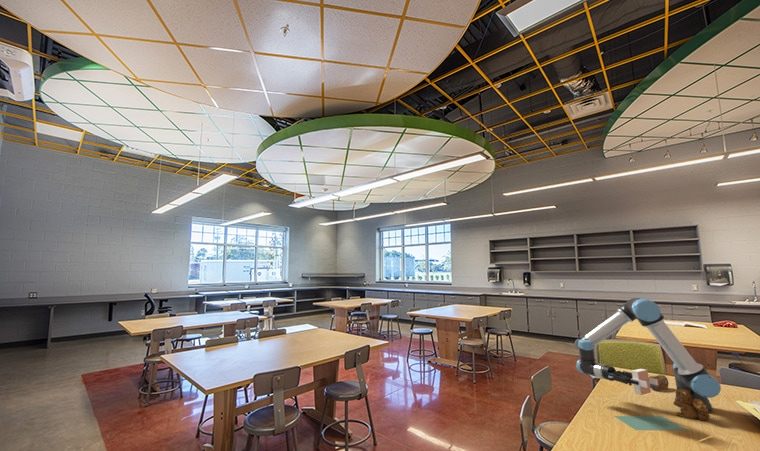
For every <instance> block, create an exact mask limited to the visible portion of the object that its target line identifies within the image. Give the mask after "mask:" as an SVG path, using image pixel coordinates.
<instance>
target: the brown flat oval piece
mask: <svg viewBox="0 0 760 451" xmlns="http://www.w3.org/2000/svg"><path fill="white" fill-rule="evenodd" d="M648 377H649V378H653V379H657V381H658V385H654V384H650V390H653V391H663V390H667V389H668V388H669V380H668V378H667V376H665V375H662V374H655V375H650V376H648ZM662 389H663V390H662Z"/></svg>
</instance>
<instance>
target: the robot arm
mask: <svg viewBox="0 0 760 451" xmlns="http://www.w3.org/2000/svg"><path fill="white" fill-rule="evenodd" d="M661 311H662V310H661V309H660V306H659V305H658V304H657V303H655V302H654V301H652V300H650V299H647V298H639V297H633V298H631V299H629V300H628V301H626V302H625V303H623V305H621V306H619V307H618V308H617V311H616V312H615V313H613V314H612V315H611V316H609V317H608V318H607V319H606V320H604V321H603V322H601V323H600V324H598V325H597V326H596V327H594V328H593V329H592V330H590V331H589V332H588V333H587V334H585V335H584V336H582V337H581V338H577V339H576V340H575V342H574V346H575V348H576V350H577V351H578V352H579V359H578V360H577V361H576V364H575V366H576V369H577V371H578V373H582V374H585V375H588V376H593V377H596V378H600V380H603V379H604V380H607V381H610V382H613V381H614V382H615V381H616V382H619V383H622V384H624V385H629V386H634V385H637V386H641V387H645V388H648V386H647V382H645V381H641V380H637V379H633V377H632V372H630V371H625V370H622V371H621V370H616V368H615V367H614V366H611V365H606V364H603V363H597V362H596V357H595V349H594V348H595V347H596V346H597V345H599V344H600V343H601V342H602V341H604V340H606V339H607V338H609V337H610V336H611V335H612V334H614V333H615V332H617V331H618V330H619V329H621V328H622V327H623V326H625V325H626V324H628V323H633V322H634V321H635V320H637V321H638V322H639V324H640V325H641V326H642V327H643V328H646V329H647V330H648V331H649V332H650V333H651V335H652V336H653V337H654V338H655V340H656V341H657V343H658V344H659V345H660V346H661V348H662V349H663V350H664V351H665V353H666V354H667V356H668V357H669V358H670V359H671V361H672V362H673V364H672V367H673V368H672V369H673V374H674V380H675V385H676V390H678V389H686V390H688V389H689V390H690V394H691V398H692V399H693V400H694V399H699V400H702V402H704V404H705V405H706V406H707V408H708V412H709V413H712V412H713V411H714V408H713V405H712V404H711V402H710V400H709V398H715V397H717V396H718V395H719V394H720V392H721V390H722V388H721V384H720V381H718V379H716V378H715V377H714V376H713V375H711V374H710V373H709V372H708V370H707V369H706V368H705V367H704V365H703V364H700V363H697V361H696V360H695V359H694V358H693V356H692V355H691V354H690V353H689V352H688V350H687V349H686V348H685V346H683V344H682V343H681V342H680V340H679V338H677V336H676V335H675V334H674V332H672V330H671V329H670V327H669V326H668V325H667V324H666V323H665V318H666V317H665V316H664V315H663V313H662V312H661ZM649 383H650V384H654V385H658V381H657V379H653V378H649ZM675 396H676V397H675V398H674V402H675V401H676V399H677V398H679V397H678V396H677V395H676V394H675ZM678 407H679V408H681V406H678Z"/></svg>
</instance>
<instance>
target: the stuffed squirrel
mask: <svg viewBox="0 0 760 451" xmlns="http://www.w3.org/2000/svg"><path fill="white" fill-rule="evenodd" d="M676 395H677V396H678V397H679V398H677V399H676V401H675V400H674V401H673V406H676V407H679V406H681V407H680V410H679V411H677V412H676V416H677V417H681V418H686V419H697V420H700V421H706V420H708V419H709V420H710V418H711V415H710V414H709V413H710V412H708V408H707V406H706V405H705V404H704V402H702V400H699V399H694V400H693V399H692V398H691V394H690V390H689V389H688V390H686V389H678V390H677V389H676V390H675V398H676Z"/></svg>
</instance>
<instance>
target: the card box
mask: <svg viewBox="0 0 760 451" xmlns="http://www.w3.org/2000/svg"><path fill="white" fill-rule="evenodd" d="M631 373H632V377H633V379H637V380H641V381H645V382H647V386H648V388H645V387H641V386H637V385H634V384H633V389H634V390H633V391H634V394H636V395H639V396H642V395H647V394H650V393H652V391H651V390H652V389H651V388H650V383H649V377H650V376H649V371H648V369H646V368H645V369H644V368H637V369H633V370H631Z"/></svg>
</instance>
